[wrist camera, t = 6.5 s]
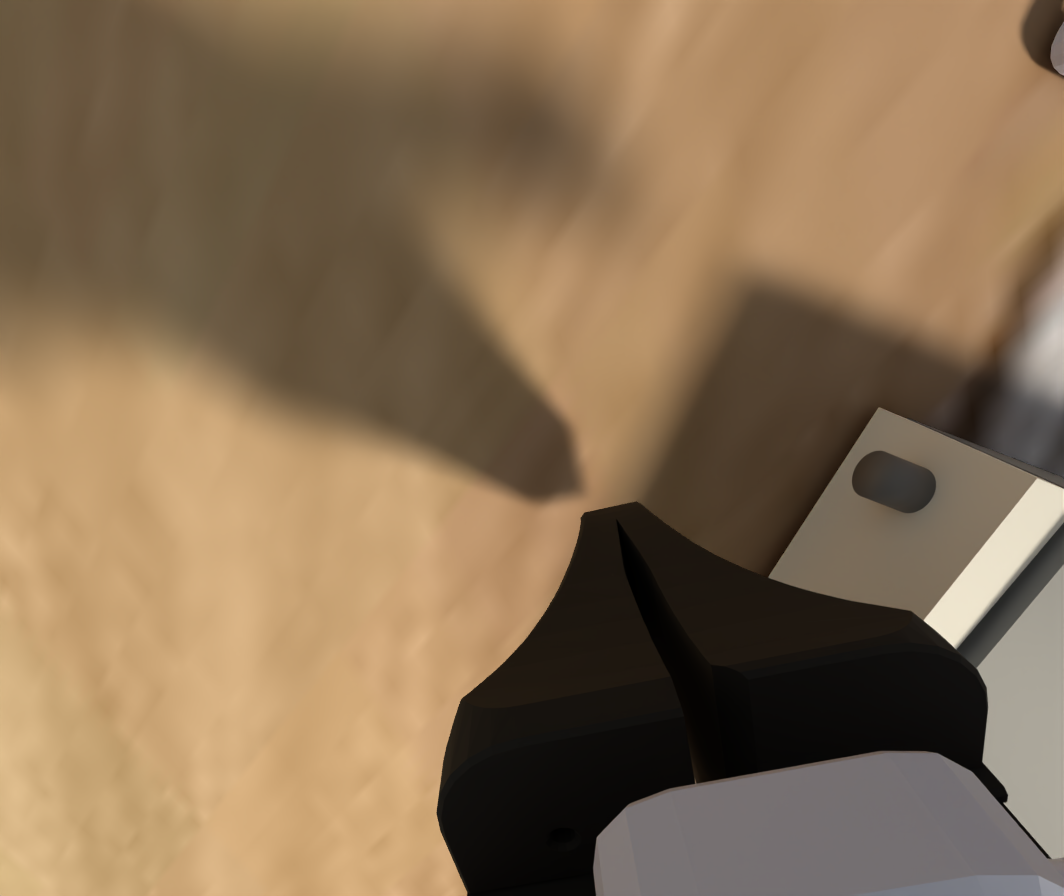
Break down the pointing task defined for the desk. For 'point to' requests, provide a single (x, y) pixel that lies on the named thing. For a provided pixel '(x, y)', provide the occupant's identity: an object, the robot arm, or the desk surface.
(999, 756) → the gray box
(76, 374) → the desk surface
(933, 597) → the door
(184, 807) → the desk surface
